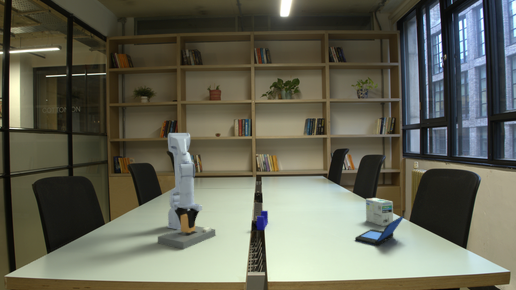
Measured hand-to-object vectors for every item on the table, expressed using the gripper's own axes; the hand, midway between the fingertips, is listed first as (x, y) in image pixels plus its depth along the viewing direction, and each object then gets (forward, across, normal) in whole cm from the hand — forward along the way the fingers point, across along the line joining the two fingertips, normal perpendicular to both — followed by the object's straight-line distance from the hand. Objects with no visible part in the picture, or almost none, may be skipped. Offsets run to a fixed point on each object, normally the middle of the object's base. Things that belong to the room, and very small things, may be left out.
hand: (187, 226), depth 118 cm
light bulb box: (+5, +63, +61) cm, 88 cm away
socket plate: (+5, 0, 0) cm, 5 cm away
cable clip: (+6, +17, +30) cm, 35 cm away
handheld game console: (+6, +67, +36) cm, 76 cm away
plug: (+2, 0, 0) cm, 2 cm away
